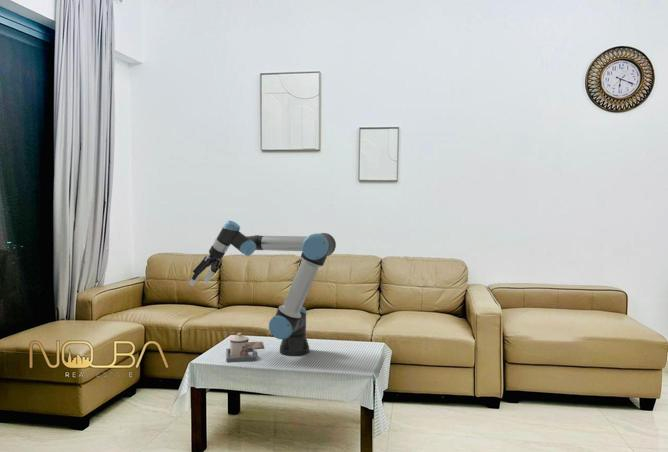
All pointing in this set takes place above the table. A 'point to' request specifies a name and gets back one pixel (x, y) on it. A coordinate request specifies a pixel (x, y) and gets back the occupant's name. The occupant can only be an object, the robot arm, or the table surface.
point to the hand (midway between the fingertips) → (198, 282)
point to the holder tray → (235, 359)
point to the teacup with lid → (239, 346)
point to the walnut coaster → (255, 345)
